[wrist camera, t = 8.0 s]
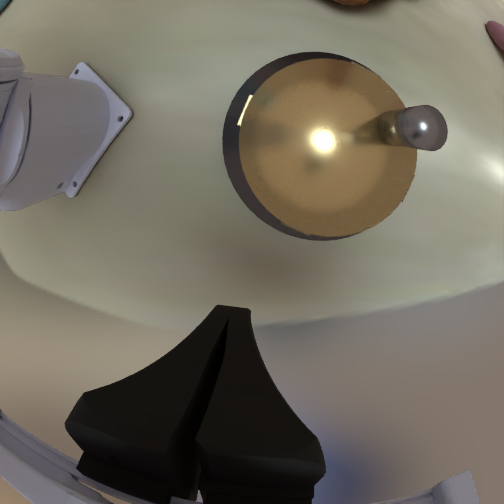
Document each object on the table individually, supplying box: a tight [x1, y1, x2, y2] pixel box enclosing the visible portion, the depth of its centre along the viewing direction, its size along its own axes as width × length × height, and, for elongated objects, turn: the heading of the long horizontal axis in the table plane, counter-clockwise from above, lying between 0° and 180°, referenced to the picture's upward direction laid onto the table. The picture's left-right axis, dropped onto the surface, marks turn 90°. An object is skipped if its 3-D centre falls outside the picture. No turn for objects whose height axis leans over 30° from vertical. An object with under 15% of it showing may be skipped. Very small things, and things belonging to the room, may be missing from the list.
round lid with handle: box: [237, 58, 448, 237], centre depth 13 cm, size 10×10×7 cm
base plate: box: [222, 52, 385, 241], centre depth 17 cm, size 13×13×1 cm
